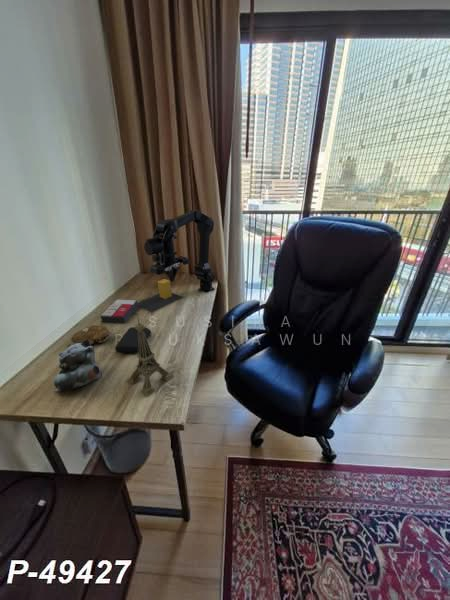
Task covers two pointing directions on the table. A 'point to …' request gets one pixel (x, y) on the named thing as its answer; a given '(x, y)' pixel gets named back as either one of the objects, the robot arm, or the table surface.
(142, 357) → the eiffel tower
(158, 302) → the mat
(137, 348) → the carrying case
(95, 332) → the decorative rock
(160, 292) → the block
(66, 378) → the grey lumpy figure
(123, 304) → the red and white box
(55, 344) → the table surface
